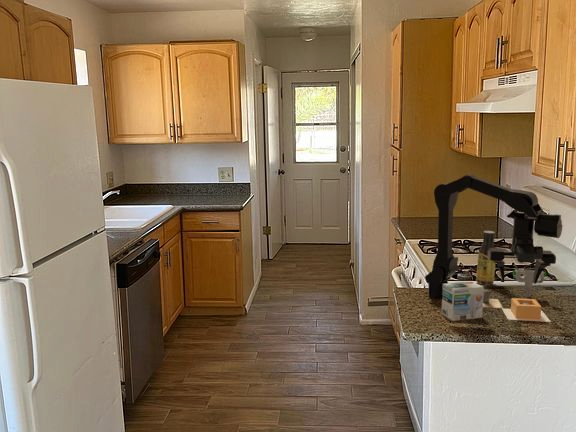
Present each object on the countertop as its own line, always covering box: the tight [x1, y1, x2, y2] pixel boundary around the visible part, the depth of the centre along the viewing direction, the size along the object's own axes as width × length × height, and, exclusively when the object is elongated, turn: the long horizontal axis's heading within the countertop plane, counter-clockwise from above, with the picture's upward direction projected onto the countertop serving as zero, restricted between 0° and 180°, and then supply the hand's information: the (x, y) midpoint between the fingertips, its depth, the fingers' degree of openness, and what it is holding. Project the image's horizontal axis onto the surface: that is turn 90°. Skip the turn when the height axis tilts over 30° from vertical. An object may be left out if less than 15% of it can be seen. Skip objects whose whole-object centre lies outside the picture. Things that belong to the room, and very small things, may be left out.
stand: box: [483, 289, 504, 309], centre depth 180 cm, size 9×9×5 cm
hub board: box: [501, 303, 552, 323], centre depth 169 cm, size 12×10×4 cm
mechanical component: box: [512, 268, 547, 298], centre depth 186 cm, size 3×10×10 cm, turn 78°
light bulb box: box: [440, 280, 485, 324], centre depth 168 cm, size 11×7×11 cm, turn 106°
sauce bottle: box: [476, 230, 496, 286], centre depth 204 cm, size 6×6×20 cm
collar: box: [510, 297, 542, 319], centre depth 169 cm, size 7×7×4 cm
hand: (518, 282), depth 170 cm, fingers open, 9 cm apart
